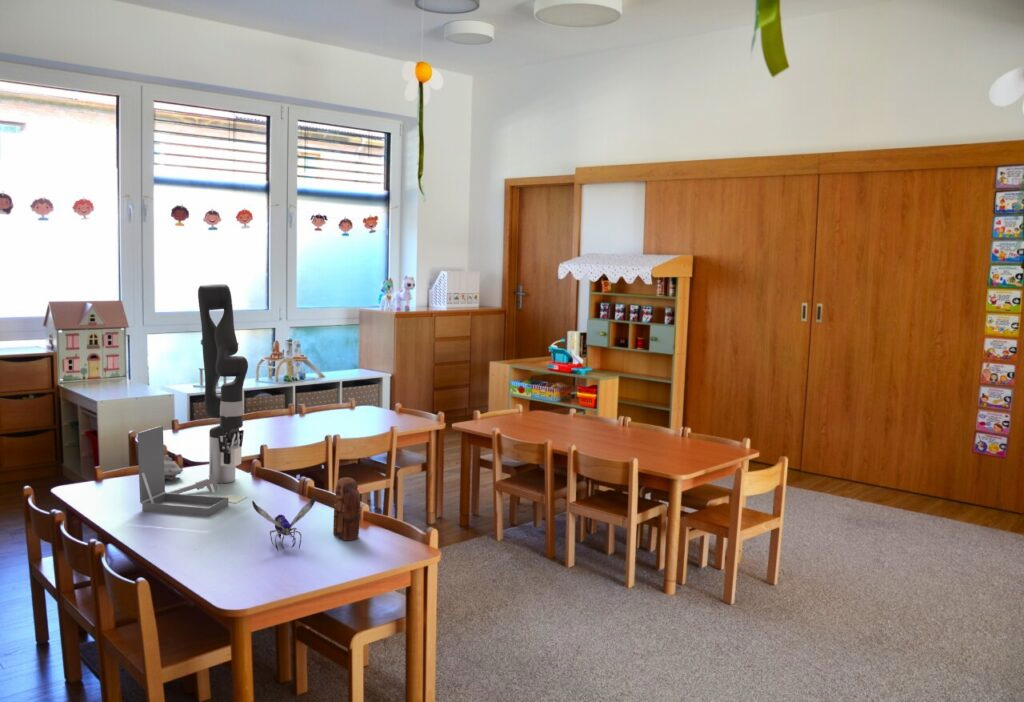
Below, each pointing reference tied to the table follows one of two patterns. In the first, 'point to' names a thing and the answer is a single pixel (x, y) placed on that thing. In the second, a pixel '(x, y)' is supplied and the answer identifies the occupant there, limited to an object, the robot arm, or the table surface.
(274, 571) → the table surface
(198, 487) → the caliper
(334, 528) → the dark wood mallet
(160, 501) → the equipment case
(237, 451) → the block
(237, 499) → the mat
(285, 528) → the mechanical insect
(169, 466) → the grey clay mound
